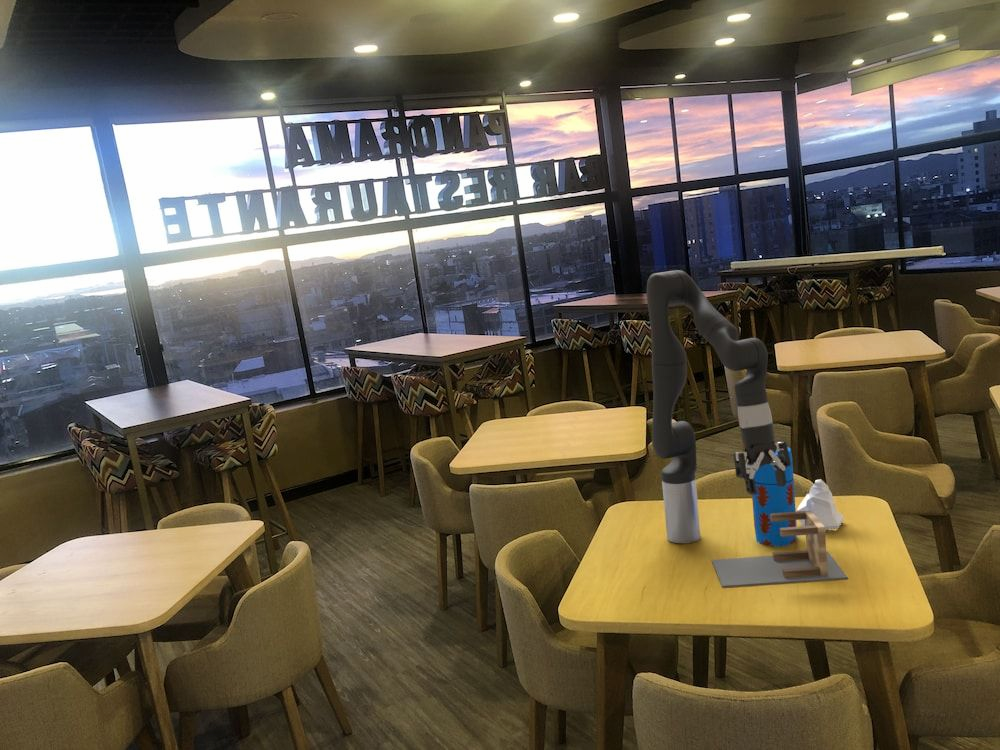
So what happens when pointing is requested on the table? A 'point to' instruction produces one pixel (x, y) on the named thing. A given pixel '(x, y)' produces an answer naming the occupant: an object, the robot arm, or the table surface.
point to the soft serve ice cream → (821, 506)
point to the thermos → (773, 504)
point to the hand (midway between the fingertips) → (767, 490)
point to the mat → (769, 571)
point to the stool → (813, 543)
